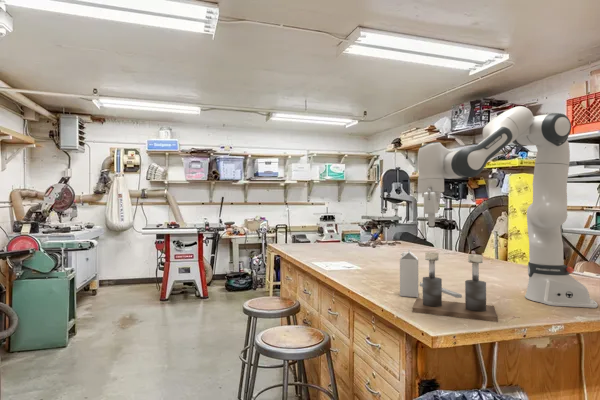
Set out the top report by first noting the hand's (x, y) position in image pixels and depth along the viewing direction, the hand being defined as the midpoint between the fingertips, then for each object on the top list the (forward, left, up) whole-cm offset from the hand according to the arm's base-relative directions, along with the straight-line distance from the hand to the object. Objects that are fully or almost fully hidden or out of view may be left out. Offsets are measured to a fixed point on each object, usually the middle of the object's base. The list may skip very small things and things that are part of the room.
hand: (431, 226), depth 129 cm
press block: (-7, 0, -30) cm, 30 cm away
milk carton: (+10, -17, -30) cm, 36 cm away
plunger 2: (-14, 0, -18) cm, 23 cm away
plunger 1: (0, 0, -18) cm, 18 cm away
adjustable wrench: (0, -30, -30) cm, 43 cm away
